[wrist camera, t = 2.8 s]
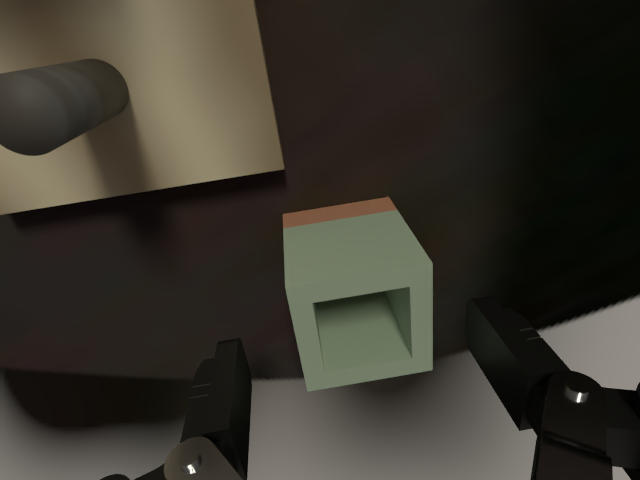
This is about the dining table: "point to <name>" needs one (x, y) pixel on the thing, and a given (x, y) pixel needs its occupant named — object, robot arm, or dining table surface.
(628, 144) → the dining table surface
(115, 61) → the pin board
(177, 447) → the robot arm
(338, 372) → the sage sleeve
